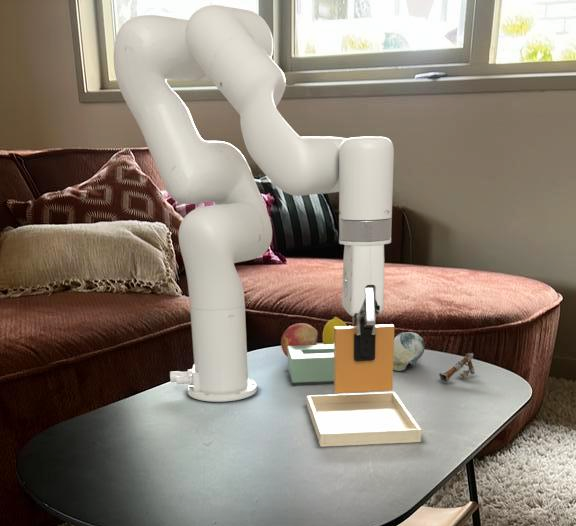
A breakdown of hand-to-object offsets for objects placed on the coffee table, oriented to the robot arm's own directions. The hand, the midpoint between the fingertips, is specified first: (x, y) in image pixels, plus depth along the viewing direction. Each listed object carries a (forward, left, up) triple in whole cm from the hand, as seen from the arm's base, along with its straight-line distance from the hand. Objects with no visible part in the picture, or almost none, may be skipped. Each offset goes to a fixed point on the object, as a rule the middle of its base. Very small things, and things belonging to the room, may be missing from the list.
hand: (363, 357), depth 118 cm
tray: (0, 0, -11) cm, 11 cm away
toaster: (-1, +28, -11) cm, 30 cm away
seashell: (+15, +34, -11) cm, 39 cm away
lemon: (+2, +43, -11) cm, 45 cm away
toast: (0, 0, -5) cm, 5 cm away
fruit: (-6, +38, -11) cm, 40 cm away
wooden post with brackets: (+22, +22, -11) cm, 33 cm away
